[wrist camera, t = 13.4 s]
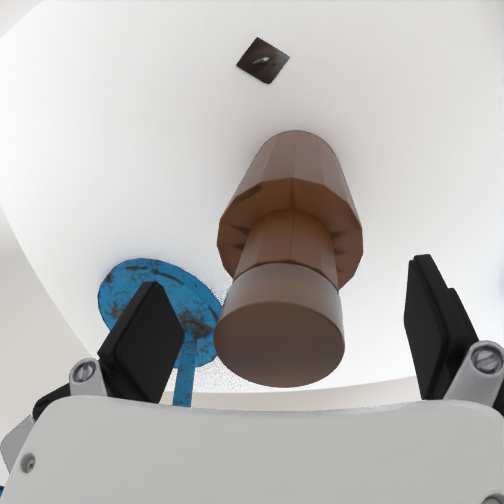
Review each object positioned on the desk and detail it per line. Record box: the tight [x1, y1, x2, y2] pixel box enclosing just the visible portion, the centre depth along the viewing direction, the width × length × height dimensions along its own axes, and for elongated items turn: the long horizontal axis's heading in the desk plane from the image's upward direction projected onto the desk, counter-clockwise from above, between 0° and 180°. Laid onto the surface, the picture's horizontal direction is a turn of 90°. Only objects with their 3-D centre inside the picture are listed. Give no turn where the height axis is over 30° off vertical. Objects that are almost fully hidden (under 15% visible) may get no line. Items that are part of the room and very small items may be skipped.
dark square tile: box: [236, 37, 290, 84], centre depth 20 cm, size 3×3×1 cm
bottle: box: [217, 131, 363, 294], centre depth 18 cm, size 7×7×16 cm
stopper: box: [213, 262, 345, 388], centre depth 12 cm, size 4×4×5 cm
